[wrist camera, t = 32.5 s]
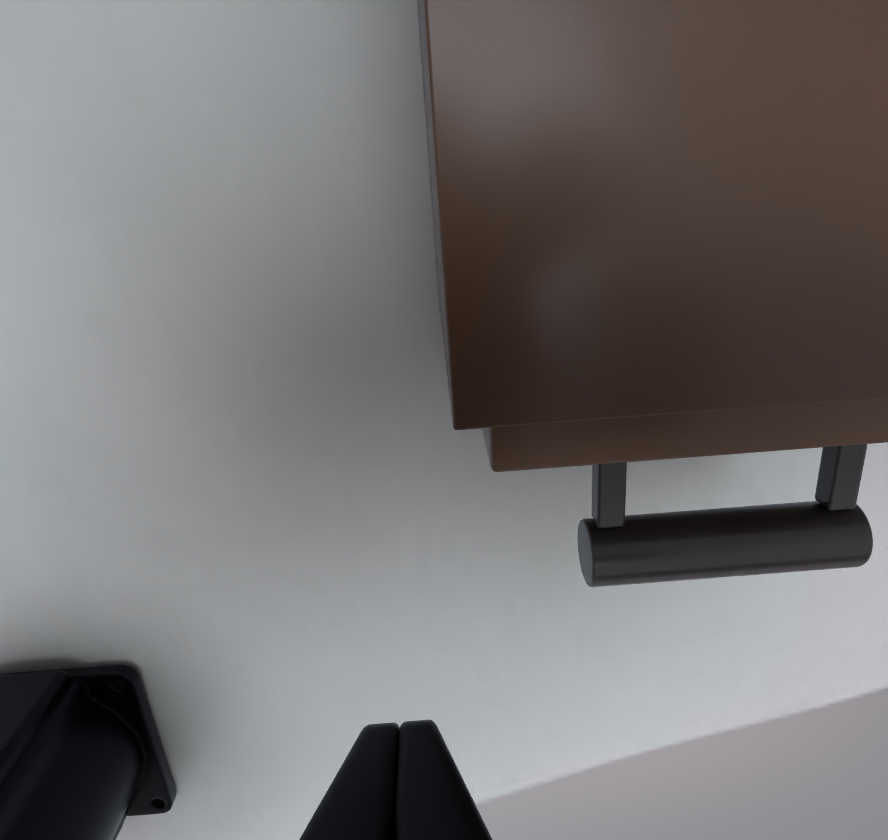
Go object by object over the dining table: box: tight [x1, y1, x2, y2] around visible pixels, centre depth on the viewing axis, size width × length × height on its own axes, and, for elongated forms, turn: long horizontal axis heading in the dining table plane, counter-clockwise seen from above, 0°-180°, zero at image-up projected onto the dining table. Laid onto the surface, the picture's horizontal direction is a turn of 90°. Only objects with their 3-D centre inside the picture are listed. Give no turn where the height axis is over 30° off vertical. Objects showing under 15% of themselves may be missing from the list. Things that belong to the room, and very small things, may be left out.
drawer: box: [482, 397, 888, 587], centre depth 12 cm, size 17×10×7 cm, turn 4°
